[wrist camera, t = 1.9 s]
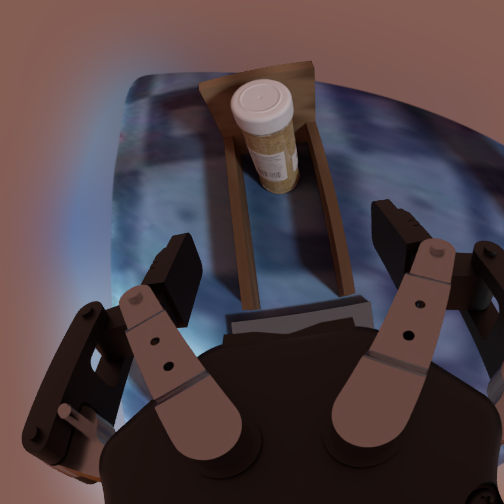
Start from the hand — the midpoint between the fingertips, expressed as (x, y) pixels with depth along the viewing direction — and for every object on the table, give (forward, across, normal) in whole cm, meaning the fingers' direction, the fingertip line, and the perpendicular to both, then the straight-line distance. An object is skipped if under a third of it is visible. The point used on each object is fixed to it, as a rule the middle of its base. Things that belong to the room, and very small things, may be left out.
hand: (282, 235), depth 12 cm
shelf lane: (+17, 0, +7) cm, 18 cm away
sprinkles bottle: (+20, 0, +4) cm, 21 cm away
